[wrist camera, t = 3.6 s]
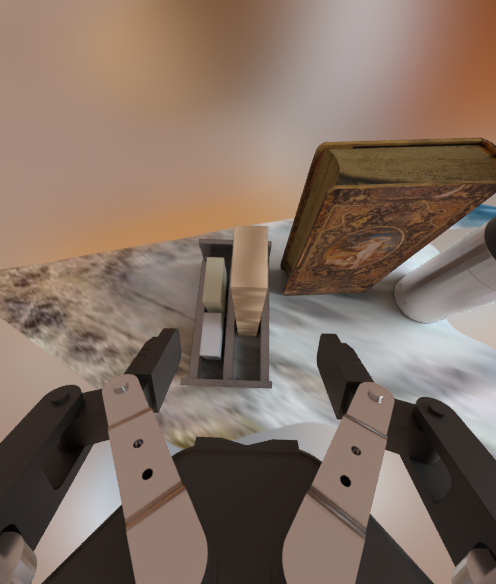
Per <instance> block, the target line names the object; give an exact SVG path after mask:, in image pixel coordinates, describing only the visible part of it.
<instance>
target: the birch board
mask: <svg viewBox="0 0 496 584" xmlns="http://www.w3.org/2000/svg"><path fill="white" fill-rule="evenodd" d="M267 288H268V227H265V226H235V229H234V244H233V259H232V274H231V292H232V298H233V305H234V311H235V317H236V324H237V330H238V336H242V337H256V336H257V331H258V327H259V323H260V318H261V314H262V310H263V305H264V301H265V297H266V293H267Z"/></svg>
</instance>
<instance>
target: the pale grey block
mask: <svg viewBox="0 0 496 584" xmlns="http://www.w3.org/2000/svg"><path fill="white" fill-rule="evenodd" d="M224 335H225V322H224V319H223V317H222V314H221V313H204V318H203V327H202V337H201V346H200V356H202V357H204V358H205V359H207V360H223V349H224Z"/></svg>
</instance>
